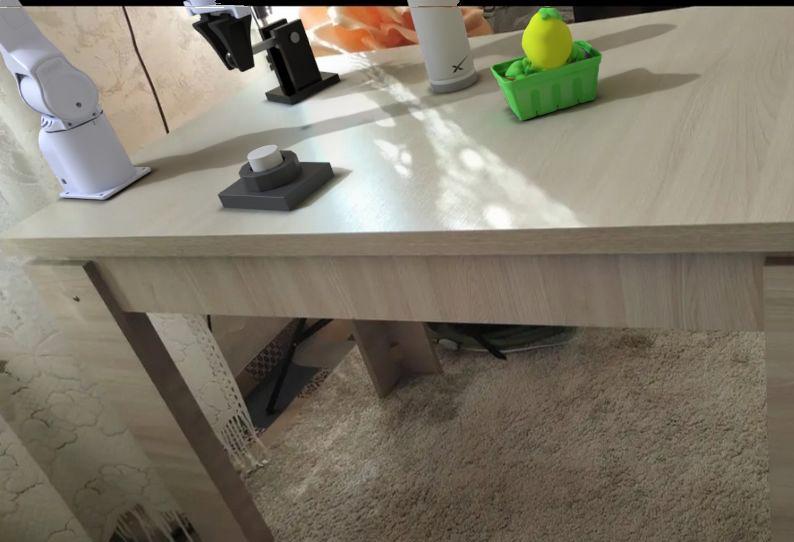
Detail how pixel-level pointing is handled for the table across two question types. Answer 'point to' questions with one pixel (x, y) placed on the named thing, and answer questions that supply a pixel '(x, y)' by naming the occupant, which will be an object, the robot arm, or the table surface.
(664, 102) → the table surface
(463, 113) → the table surface
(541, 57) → the fruit basket
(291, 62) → the black lever base
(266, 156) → the white push button
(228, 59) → the flush lever
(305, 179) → the push button base
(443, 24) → the travel mug
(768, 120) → the table surface
